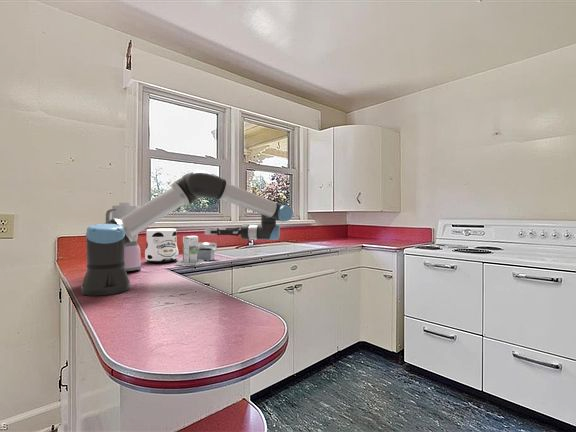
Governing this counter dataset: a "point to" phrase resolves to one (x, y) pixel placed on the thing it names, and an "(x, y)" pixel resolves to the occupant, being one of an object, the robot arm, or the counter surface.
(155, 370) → the counter surface
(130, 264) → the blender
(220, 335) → the counter surface
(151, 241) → the milk container
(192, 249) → the syrup box
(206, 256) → the pillow block with shaft stub
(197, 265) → the steel flange
